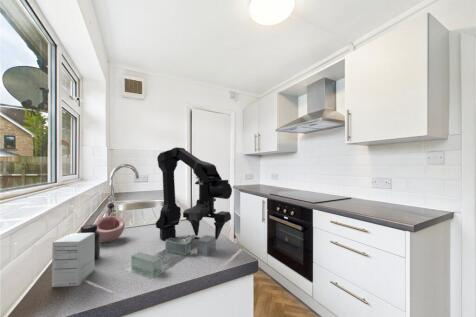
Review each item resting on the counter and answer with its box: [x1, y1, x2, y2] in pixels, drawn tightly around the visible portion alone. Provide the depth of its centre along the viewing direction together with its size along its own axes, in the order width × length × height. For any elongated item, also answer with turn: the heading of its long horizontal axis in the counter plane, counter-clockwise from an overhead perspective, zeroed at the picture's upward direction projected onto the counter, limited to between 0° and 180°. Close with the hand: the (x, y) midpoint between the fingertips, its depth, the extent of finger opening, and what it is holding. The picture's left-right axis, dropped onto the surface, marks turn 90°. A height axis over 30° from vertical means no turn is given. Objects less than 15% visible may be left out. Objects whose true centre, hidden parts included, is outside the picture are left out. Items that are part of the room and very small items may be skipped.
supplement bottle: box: [79, 223, 101, 262], centre depth 72 cm, size 7×7×12 cm
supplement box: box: [51, 232, 95, 288], centre depth 60 cm, size 7×7×13 cm
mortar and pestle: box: [93, 215, 126, 243], centre depth 89 cm, size 12×12×11 cm
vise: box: [124, 249, 195, 280], centre depth 70 cm, size 12×20×5 cm, turn 154°
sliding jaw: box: [164, 234, 201, 255], centre depth 80 cm, size 10×12×4 cm
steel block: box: [196, 234, 217, 257], centre depth 76 cm, size 4×6×6 cm
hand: (206, 237), depth 76 cm, fingers open, 9 cm apart
